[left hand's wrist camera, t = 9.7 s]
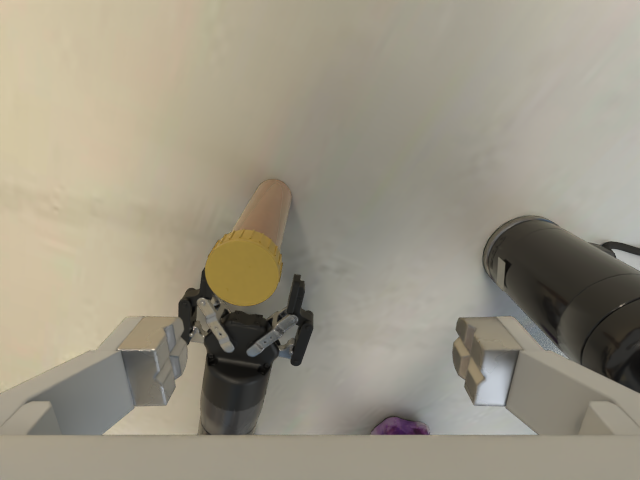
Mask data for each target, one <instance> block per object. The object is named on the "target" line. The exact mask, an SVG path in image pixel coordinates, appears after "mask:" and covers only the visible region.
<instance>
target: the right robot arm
mask: <svg viewBox="0 0 640 480" xmlns="http://www.w3.org/2000/svg"><path fill="white" fill-rule="evenodd" d="M611 249H619V250H623V251H626V252H629V253H633V254H636V255H640V248H636V247H633V246H630V245H626V244H623V243H618V242H608V243H605V244H604V245H603V246H600V245H598V244H593V243H589V242H586V241H584V240H582V239H580V238H579V237H577V236H575V235H573V234H571V233H570V232H568V231H566V230H564V229H562V228H561V227H559V226H558V225H557V224H555V223H553V222H552V221H550V220H548V219H546V218H543V217H539V216H524V217H520V218H516V219H514V220H511V221H509V222H508V223H506V224H504V225H503V226H501V227H500V228H499V229H498V230H497V231H496V232H495V233H494V234H493V235H492V236H491V238H490V239H489V241H488V243H487V245H486V247H485V250H484V255H483V263H484V268H485V270H486V272H487V274H488V275H489V277H490V278H491V279H492V280H493V281H494V282H495V283H496V284H497V285H498V286H499V287H500V288H501V289H502V291H503V290H504V291H505V293H506V294H507V295H508V296H509V297H510V298H511V299H512V300H513V301H514V302H515V303H516V304H517V305H518V306H519V307H520V308H521V309H522V310H523V311H524V313H525V314H526V315H527V316H528V317H529V318H530V319H531V320H532V321H533V322H534V323H535V324H536V325H537V326H538V327H539V328H540V329H541V330H542V331H543V332H544V333H545V335H546V336H547V337H548V338H549V339H550V340H551V341H552V342H553V343H554V344H555V345H556V346H557V347H558V348H559V349H560V350H561V351H562V352H563V353H564V354H565V355H566V356H567V357H568V358H569V359H570V360H571V361H573V362H575V363H577V364H579V365H582V366H584V367H586V368H588V369H590V370H592V371H594V372H596V373H598V374H600V375H602V376H604V377H606V378H609V379H611V380H613V381H615V382H617V383H619V384H621V385H623V386H625V387H627V388H629V389H631V390H633V391H636V392H638V393H640V271H639V270H637V269H635V268H633V267H631V266H629V265H628V264H626V263H624V262H622V261H620V260H619V259H617V258H616V256H615V253H614V252H613V251H612V250H611ZM300 278H301V275H297V274H294V277H293V282H292V286H291V290H290V295H289V299H288V305H287V306H286V307H285V308H284V309H282V310H281V311H277V312H275V313H274V314H273V315H271V316H270V317H268V318H267V319H264V318H263V315H258V314H247V313H244V312H242V311H236V310H235V312H233V313H232V312H231V311H230V309H229V308H228V306H227V305H226V303H225V302H224V301H221V299H220V298H219V297H218V296H217V295H216V294H215V293H214V292H213V291H212V290H211V288H210V287H209V285H208V283H207V280H206V276H205V268H204V269H203V271H202V277H201V284H200V289H198V290H196V289H194V288H189V289H188V290H187V291H186V292H185V295H184V296H183V298H182V299H181V300H180V302H179V313H178V317H180V318H181V319H182V320H183V325H184V331H183V333H182V335H181V337H182V338H183V340H184V341H185V342H186V343H187V345H188V344H189V342H190V341H191V342H199V343H204V345H205V347H206V349H207V356H206V363H205V371H204V378H203V385H202V392H201V400H200V410H201V415H200V422H199V429H198V435H254V432H255V428H256V423H257V419H258V417H259V414H260V412H261V409H262V406H263V402H264V398H265V394H266V389H267V384H268V380H269V376H270V371H271V367H272V363H273V361H274V360H275V359H276V358H277V357H278V356H279V357H283V358H288V359H291V364H292V365H294V366H299V365H300V364H301V362H302V359H303V356H304V353H305V350H306V348H307V345H308V342H309V339H310V336H311V333H312V331H313V313H312V312H311V311H305V310H303V309H302V308H301V305H302V301H303V297H304V293H305V283H304V281H301V280H300ZM197 306H199V308H200V309H201V311H202V312H203V314H204V315H205V317H206V322H207V324H208V326H209V327H210V329H209V330H208V331H207V332H206V331H204V330H203V329H202V327H201V324H200V321H196V317H197ZM295 324H296V325H298V326H299V327H298V330H297V333H296V336H295V339H294V338H291V339H290V340H289V341H288V342H287V343H286V344H285V345H280V341H279V340H278V339H279V338H280V337H281V336H282V335H283V334H284V332H285V331H286V330H288V329H289V328H291V327H292V326H293V325H295Z"/></svg>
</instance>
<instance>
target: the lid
mask: <svg viewBox="0 0 640 480" xmlns="http://www.w3.org/2000/svg"><path fill="white" fill-rule="evenodd" d="M281 257H282V254H280V252H279V250H278V246H276V245H275V243H274V242H273V241H272V239H270V238H268V237H267V236H265V235H264V233H260V232H257V231H255V230H245V229H243V230H237V231H235V230H233V232H231V233H229V234H225V235H224V237H223V238H222V239H221V240H218V241H217V243H216V244H215V246H214V247H213V249H212V251H211V252H210V254H209V255H208V259H207V262H206V266H205V276H206V280H207V283H208V285H209V287H210V288H211V290H212V291H213V292H214V293H215V294H216V295H217V296H218V297H219V298H221V299H222V300H224V301H226V302H228V303H230V304H233V305H238V306H252V305H256V304H259V303H261V302H263V301H265V300H266V299H268V298H269V297H270V296H271V295H272V294H273V293H274V291H275V290H276V288H277V285H278V282H280V277H281V272H282V266H283V263H282V259H281Z"/></svg>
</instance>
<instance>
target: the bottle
mask: <svg viewBox="0 0 640 480" xmlns="http://www.w3.org/2000/svg"><path fill="white" fill-rule="evenodd" d="M291 199H292V196H291V191H290V189H289V188H288V186H287V185H286V184H285V183H283V182H282V181H280V180H276V179H269V180H266V181H264V182H262V183H261V184H260V185H259V186H258V188H257V190H256V191H255V193H254V195H253V196H252V198H251V199H250V201H249V203H248V204H247V206H246V208H245V209H244V211H243V213H242V214H241V216H240V217H239V219H238V221H237V222H236V224H235V226H234V227H233V229H232V231H231V232H233V230H235V231H237V230H243V229H245V230H255V231H257V232H260V233H264V235H265V236H267V237H268V238H270V239H272V241H273V242H274V243H275V245H276V246H278V250H279V252H280V248H281V244H282V239H283V235H284V231H285V226H286V222H287V217H288V213H289V209H290V204H291ZM231 232H230V233H231Z"/></svg>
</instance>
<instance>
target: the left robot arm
mask: <svg viewBox="0 0 640 480" xmlns="http://www.w3.org/2000/svg"><path fill="white" fill-rule="evenodd" d="M183 331H184V325H183V320H182V319H181V318H180V317H148V316H147V317H145V316H130V317H126V318H125V319H124V320H123V321H122V322H121V323H120V324H119V325H118V326H117V327H116V328H115V329H114V331H113V332H112V333H111V334H110V335H109V336H108V337H107V338H106V339H105V340H104V341H103V343H102V344H101V345H100V346H99V347H98V348H97V349H96V350H94V351H88V352H85V353H83V354H81V355H79V356H77V357H75V358H73V359H71V360H69V361H67V362H65V363H63V364H60V365H58V366H56V367H54V368H52V369H50V370H48V371H46V372H44V373H42V374H40V375H38V376H35V377H33V378H31V379H29V380H27V381H25V382H23V383H21V384H19V385H17V386H15V387H13V388H10V389H8V390H6V391H4V392H2V393H0V480H640V393H638V392H636V391H633V390H631V389H629V388H627V387H625V386H623V385H621V384H619V383H617V382H615V381H613V380H611V379H609V378H606V377H604V376H602V375H600V374H598V373H596V372H594V371H592V370H590V369H588V368H586V367H584V366H582V365H579V364H577V363H575V362H573V361H571V360H569V359H567V358H565V357H563V356H561V355H559V354H557V353H555V352H552V351H546V350H544V349H543V348H542V347H541V346H540V345H539V344H538V343H537V341H536V340H535V339H534V338H533V337H532V336H531V335H530V334H529V333H528V332H527V331H526V329H525V328H524V327H523V326H522V325H521V324H520V323H519V322H518V321H517V320H516V319H515V318H514V317H512V316H500V317H468V318H459V319H458V321H457V325H456V331H457V333H458V335H459V337H458V338H457V339H456V341H455V342H454V343H453V351H452V354H453V363H454V366H455V369H456V371H457V373H458V375H459V376H460V377H462V378H463V379H465V386H464V387H465V389H466V391H467V393H468V395H469V397H470V399H471V401H472V403H473V405H474V406H506V409H508V410H509V411H510V412H511V413H512V414H514V415H515V416H516V417H517V418H519V419H520V420H521V421H522V422H523V423H525V424H526V425H527V426H528V427H530V428H531V429H532V430H533V431H534V432H536V433H537V434H538V435H102V434H103V433H105V432H106V431H107V430H108V429H109V428H111V427H112V426H113V425H114V424H115V423H117V422H118V421H119V420H120V419H122V418H123V417H124V416H125V415H126V414H128V413H129V412H130V411H131V410H133V409H134V406H165V405H167V403H168V401H169V399H170V397H171V395H172V393H173V391H174V389H175V387H176V386H175V379H177V378H178V377H180V376H181V375H182V373H183V371H184V369H185V367H186V362H187V352H188V349H187V343H186V342H185V341H184V340H183V338H182V337H181V335H182V333H183Z"/></svg>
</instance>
